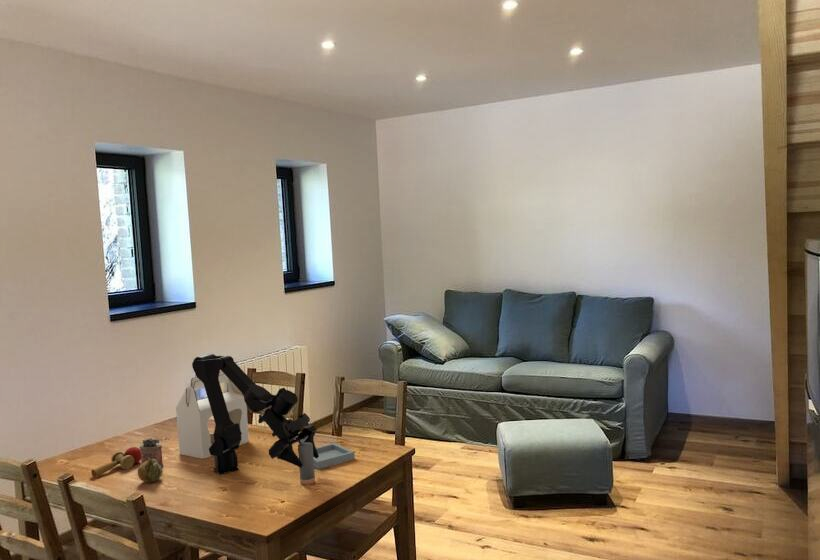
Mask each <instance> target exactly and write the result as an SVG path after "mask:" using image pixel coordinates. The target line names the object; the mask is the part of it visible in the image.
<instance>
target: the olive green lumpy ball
mask: <svg viewBox="0 0 820 560" xmlns="http://www.w3.org/2000/svg"><path fill="white" fill-rule="evenodd" d="M148 459H149V460H148V461H146V462H144V463H141V464H140V465H139V467H138V470H137V476H138V478H139V480H141V481H143V482H145V483H147V484H149V483H153V482H156V481H158V480H159V479H160V478H161V477H162V474H163V468H161V466H160V465H159V464H158V462H157V460H155V459H150V458H148Z"/></svg>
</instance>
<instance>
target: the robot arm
mask: <svg viewBox="0 0 820 560" xmlns="http://www.w3.org/2000/svg"><path fill="white" fill-rule="evenodd" d="M191 367H192V370H193V372H194V375H195V377H197V378H198V379H199V380H201V381H202V382H203V384H204V387H205V388H204V390H205V392H206V393H205V394H206V398H207V397H208V401H209V404H210V407H211V411H212V414H213V416H212V417H213V421H214V424H215V425H214V430H213V434H214V440H215V442H214V443H213V444H212V445H211V447H210V448H209V452H210V455H213V456H214V457H213V458H214V468H213V469H212V470H213V471H214V472H216V473H217V474H219V475H223V474H226V473H231V472H235V471H238V470H239V467H238V466H239V465H238V461H239V460H238V454H237V453H236V450H238V449H239V448H240V445H239V444H240V441H241V434H242V433H241V431H240V427H239V424H238V423H236V424H234V423H233V422H232V421H231V419H230V417H229V413H228V410H227V407H226V403H225V400H224V396H223V389H222V386H221V383H219V379H218V377H219V373H220V371H222V372H223V373H224V374H225V375H226V376H227V377H228V378H229V379H230V381H231V382H232V383H233V384H234V385H235V386H236V387H237V388H238V389H239V390H240V391H241V393H242V394H243V395H244V401H245V403H246V407H248V409H249V410H250V411H251V412H253V413H259V412H262V411H264V410H265V411H264V412H263V413H259V415H258V421H257V423H258V424H262V423H265V424H266V425H267V426H268V427H269V428H270V430H271V431H272V433H271V436H272V437H277V439H278V440H276V441H275V442H274V443H273V444H272V446H271V447H270V448H269V449H268V455H269V457H270V458H271V459H272V460H273V459H275V458H276V459H277V460H282V461H284V462H287V463H290V464H292V465H294V466H297V467H298V468H299V467H302V466H303V464H302V462H301V461H300V459H299V456H298V455H297V454H296V452H295V451H294V447H293V445H294V444H296V443H298V444H300V443H305V442H310V443H312V444H313V457H315V458H318V457H319V455H318V452H317V450H316V447H317V446H316V445H315V440H314V437H315V435H316V432H317V431H318V430H317V428H316V427H315V425H313V424H310V422H311V418H310V416H308V414H307V413H306V412H304V413H301V414H299V415H298V418H297V419H296V420H293V419H292V418H289V419H287V417H286V415H288V414H289V413H291V410H292V409H294V407H295V405H297V403H298V402H299V398H298V396H297V394H296V393H295V392H293V391H292V390H289V389H286V388H285V387H281V388H279V390H278V391H277V393H276V394H272V393H271V392H270V391H269V390H267V389H266V388H264V387H263V386H260V385H259V384H256V383H255V382H254V381H253V380H252V379H251V378H250V377H249V376H248V375H247V374H246V373H245V371H243V369H242V368H241V367H240V366H239V365H238V364H237V363H236V362H235V361H234V358H233V357H232V356H231V355H216V354H214V353H208V354H203V355H200V356H196V357H194V359H193V361H192V365H191Z"/></svg>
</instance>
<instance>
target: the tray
mask: <svg viewBox="0 0 820 560" xmlns="http://www.w3.org/2000/svg"><path fill="white" fill-rule="evenodd" d="M315 447H316V450H317V452H318V455H319V457H318V458H315V457H313V458H314V469H317V470H321V469H325V468H328V467H332V466H335V465H338V464H342V463H345V462H349V461H350V462H351V461H352V460H355V455H356V454H355V451H353V450H351V449H348V448H346V447H344V446H343V445H340V444H337V443H335V442H333V443H332V442H331V443H328V444H324V445H321V446H315Z"/></svg>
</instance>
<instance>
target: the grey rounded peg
mask: <svg viewBox="0 0 820 560" xmlns="http://www.w3.org/2000/svg"><path fill="white" fill-rule="evenodd" d="M297 450H298V453H297V454H298V458H299V459H300V461H301V462H302V464H303V466H302V467H298V468H299V482H300V483H299V484H300V485H302V486H310V485H313V484H315V483H316V475H315V467H314V458H313V444H312V443H310V442H305V443H298V445H297Z"/></svg>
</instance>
